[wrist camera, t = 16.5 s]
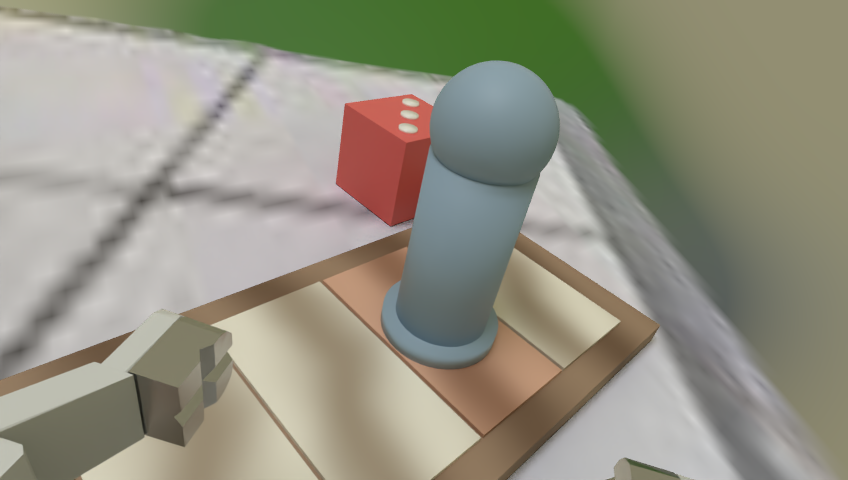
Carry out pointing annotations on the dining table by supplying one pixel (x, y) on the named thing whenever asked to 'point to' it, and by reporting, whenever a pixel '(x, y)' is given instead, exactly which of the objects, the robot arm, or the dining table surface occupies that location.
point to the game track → (383, 377)
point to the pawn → (470, 212)
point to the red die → (385, 154)
